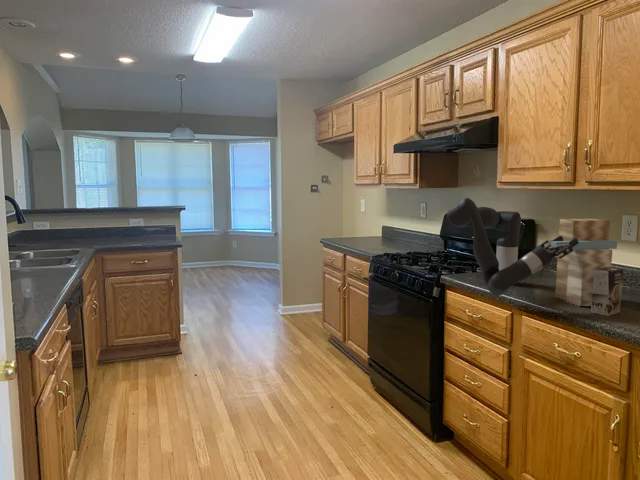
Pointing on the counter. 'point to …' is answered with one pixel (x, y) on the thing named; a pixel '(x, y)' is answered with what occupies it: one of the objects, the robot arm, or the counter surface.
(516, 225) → the robot arm
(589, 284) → the beige tall block
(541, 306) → the counter surface
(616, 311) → the coffee box
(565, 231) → the wooden tall block
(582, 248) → the bar
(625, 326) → the counter surface
